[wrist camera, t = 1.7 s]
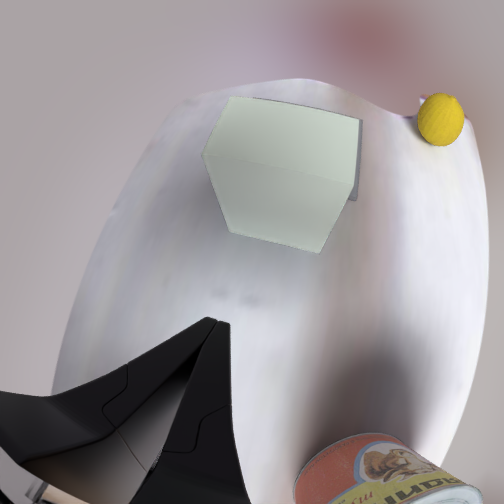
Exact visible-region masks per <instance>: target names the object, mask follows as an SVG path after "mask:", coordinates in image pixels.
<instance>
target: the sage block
mask: <svg viewBox="0 0 504 504" xmlns="http://www.w3.org/2000/svg"><path fill="white" fill-rule="evenodd" d="M358 130H359V119H355V118H351V117H348V116H344V115H340V114H336V113H332V112H328V111H323V110H319V109H314V108H309V107H304V106H299V105H294V104H288V103H282V102H276V101H269V100H262V99H255V98H246V97H237V96H231V97H230V98H229V100H228V102H227V104H226V106H225V108H224V110H223V112H222V114H221V115H220V117H219V119H218V121H217V123H216V125H215V127H214V129H213V131H212V133H211V135H210V137H209V139H208V141H207V143H206V145H205V147H204V150H203V152H202V157H203V160H204V163H205V166H206V169H207V171H208V174H209V177H210V180H211V183H212V185H213V188H214V191H215V194H216V197H217V199H218V202H219V205H220V208H221V210H222V213H223V216H224V219H225V221H226V224H227V227H228V230H229V232H231V233H236V234H240V235H244V236H248V237H252V238H257V239H261V240H265V241H269V242H273V243H277V244H281V245H285V246H289V247H293V248H297V249H301V250H305V251H310V252H314V253H317V254H319V253H320V251H321V249H322V248H323V246H324V244H325V242H326V240H327V238H328V236H329V234H330V232H331V230H332V228H333V227H334V225H335V223H336V221H337V219H338V217H339V215H340V213H341V211H342V209H343V207H344V205H345V203H346V201H347V199H348V197H349V195H350V192H351V190H352V188H353V186H354V179H355V169H356V158H357V146H358Z"/></svg>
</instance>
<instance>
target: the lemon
mask: <svg viewBox="0 0 504 504" xmlns="http://www.w3.org/2000/svg"><path fill="white" fill-rule="evenodd" d="M417 123H418V128H419V131H420V133H421V134H422V136H423V137H424V138H425V139H426V141H427V142H429V143H431V144H433V145H436V146H447V145H449V144H451V143H453V142H454V141H455V140H456V139H457V137H458V136H459V134H460V133H461V131H462V128H463V124H464V113H463V110H462V108H461V106H460V104H459V103H458V102H457V100H456V98H455V97H454V96H450V95H448V94H444V93H436V94H433V95H431V96H430V97H428V98H427V99H426V100H425V102H424V103H423V104H422V106H421V107H420V110H419V113H418V119H417Z"/></svg>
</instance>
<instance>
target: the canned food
mask: <svg viewBox="0 0 504 504" xmlns="http://www.w3.org/2000/svg"><path fill="white" fill-rule="evenodd" d="M293 498H294V503H295V504H483V497H482V494H481V492H480V491H479V489H477V488H476V487H474V486H472V485H468V484H466V483H464V482H462V481H460V480H459V479H457V478H455V477H454V476H452V475H450V474H449V473H447V472H446V471H444V470H442V469H441V468H439V467H438V466H436V465H434V464H433V463H431V462H430V461H428V460H427V459H425V458H424V457H422V456H421V455H419V454H418V453H416V452H415V451H413V450H412V449H410V448H409V447H407V446H406V445H405V444H404V443H403V442H402V441H400V440H399V439H397V438H396V437H394V436H391V435H388V434H384V433H363V434H357V435H353V436H350V437H347V438H344V439H342V440H339V441H337V442H335V443H333V444H331V445H330V446H328V447H326V448H325V449H323V450H322V451H320V452H319V453H318V454H316V455H315V456H314V457H313V458H312V459H311V460H310V461H309V462H308V463H307V464H306V465H305V466H304V468H303V469H302V470H301V472H300V474H299V475H298V477H297V479H296V482H295V485H294V490H293Z"/></svg>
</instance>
